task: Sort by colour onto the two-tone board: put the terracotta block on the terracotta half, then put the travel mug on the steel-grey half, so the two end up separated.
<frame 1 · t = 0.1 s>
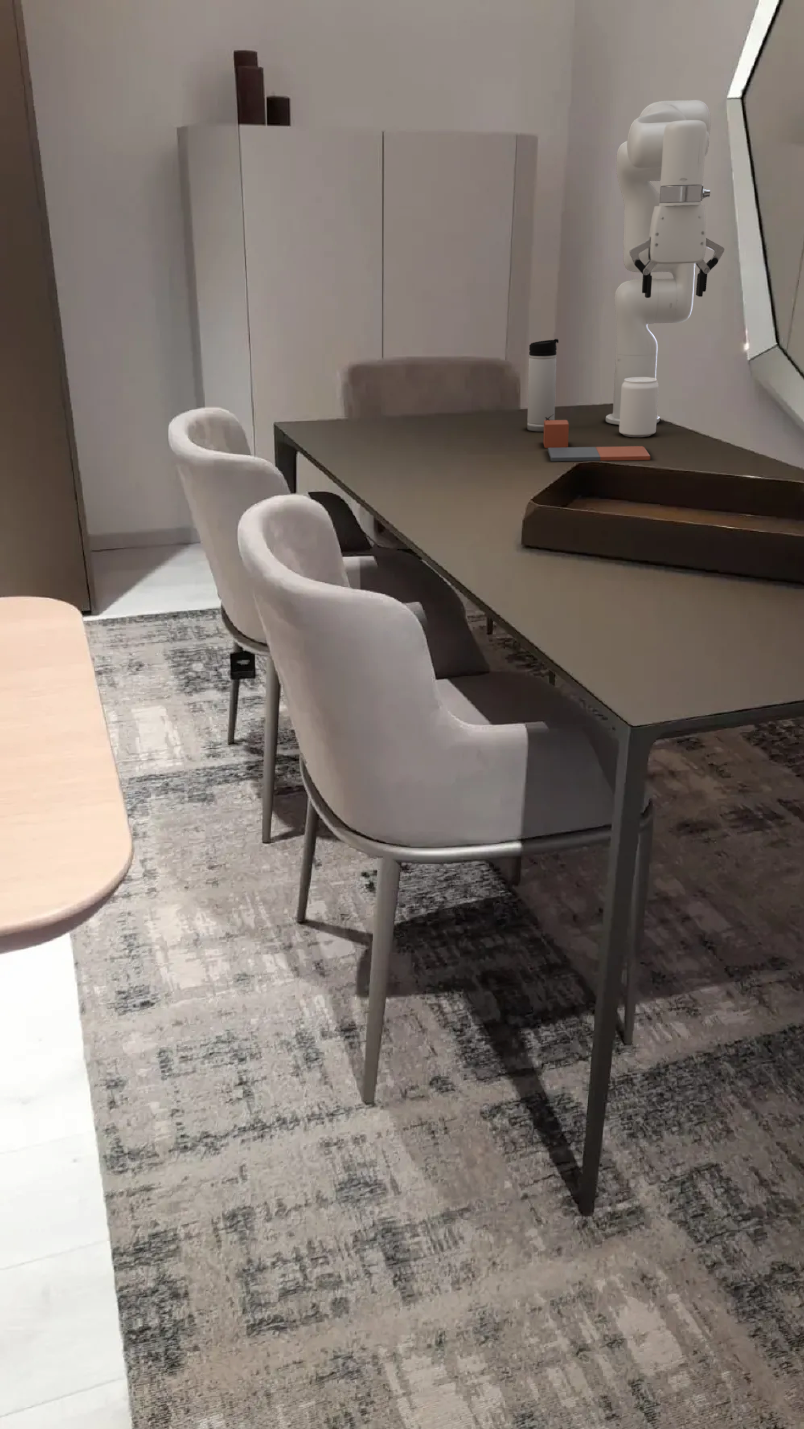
hand: (673, 296, 208), 31 cm above the table, tool pointing down, fingers open, 9 cm apart
terracotta block: (555, 445, 239), on the table
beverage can: (637, 435, 248), on the table
travel mug: (541, 430, 256), on the table
sorting board: (597, 455, 229), on the table
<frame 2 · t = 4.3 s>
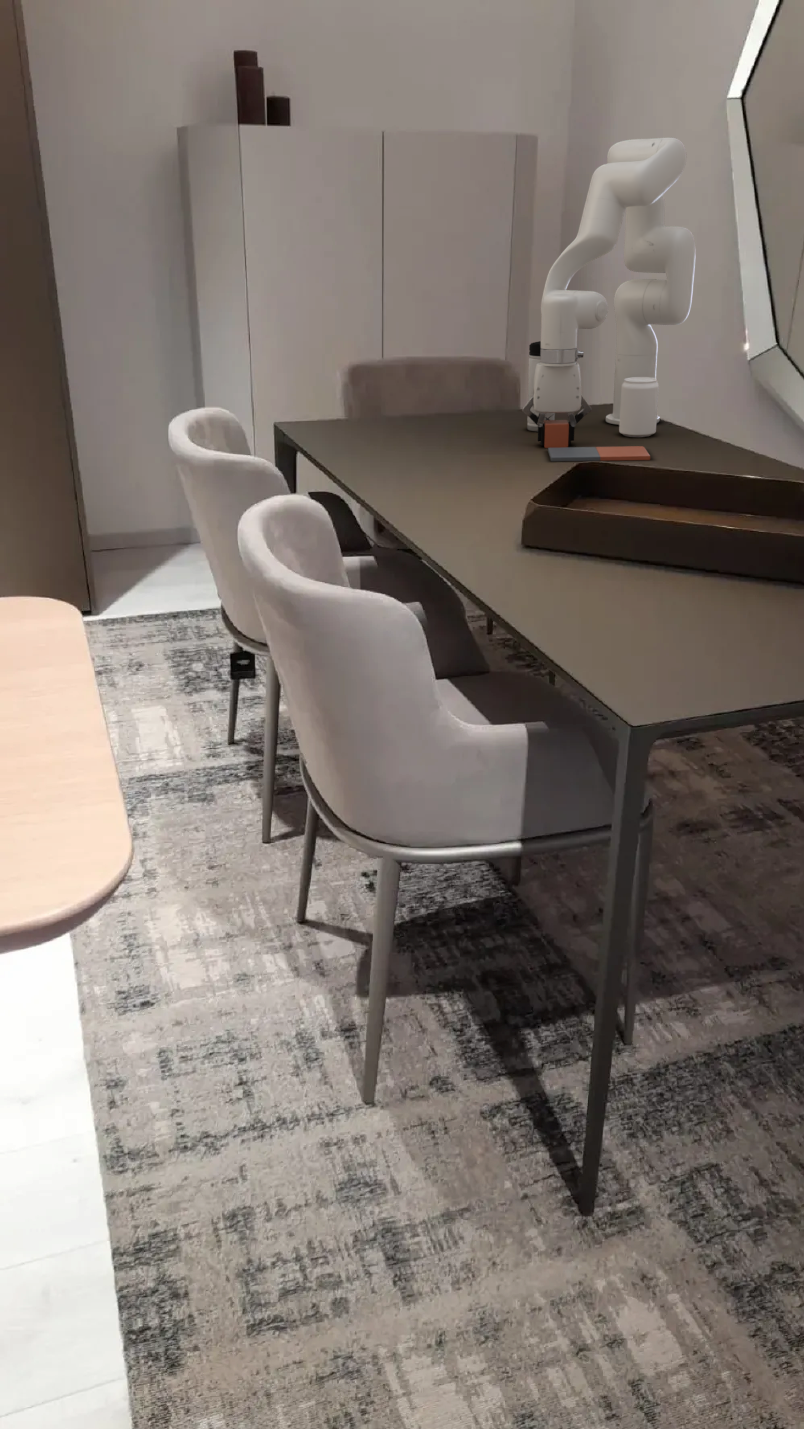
hand: (555, 443, 239), 0 cm above the table, tool pointing down, fingers closed on terracotta block, 5 cm apart
terracotta block: (555, 445, 239), on the table, touching gripper
everything else where it was.
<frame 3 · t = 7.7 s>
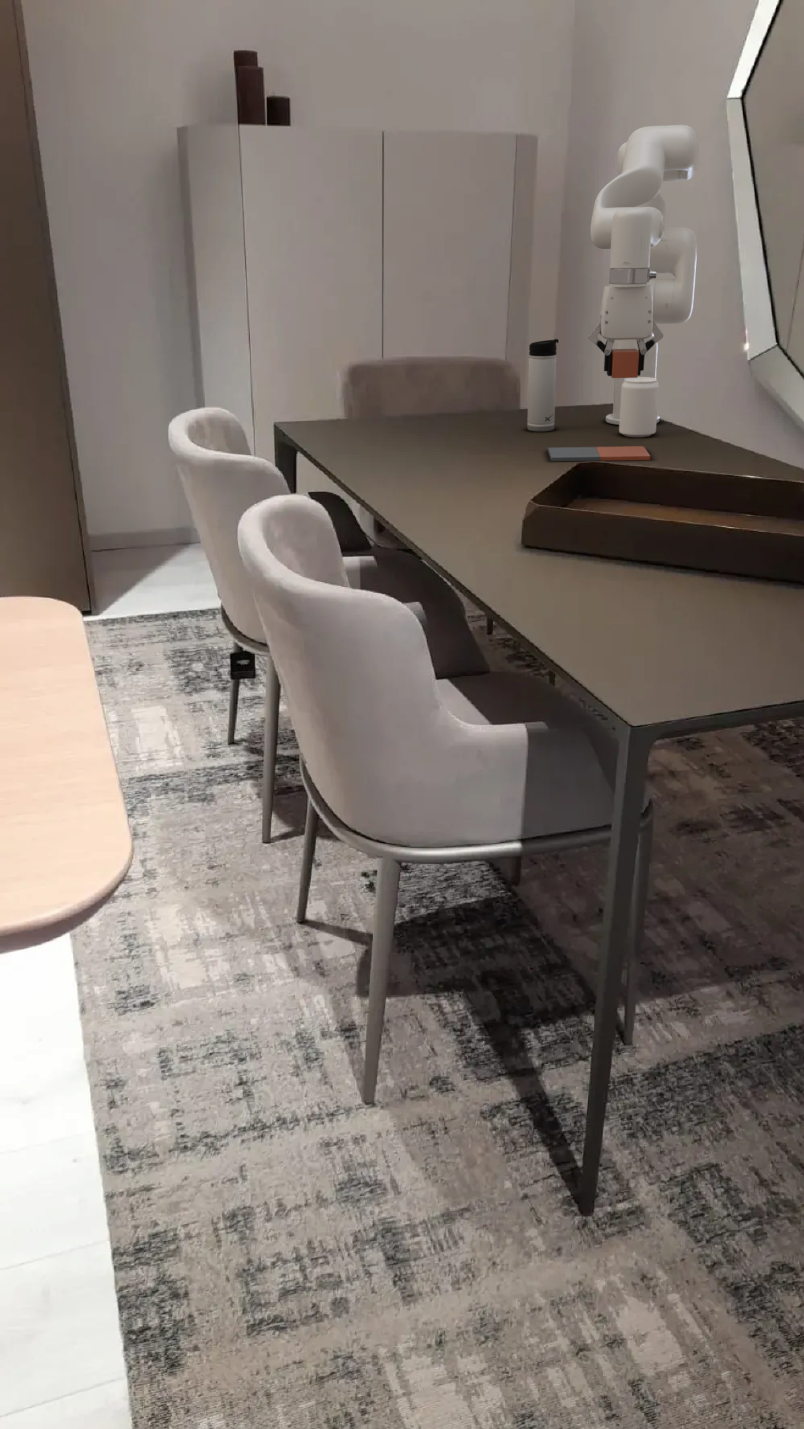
hand: (623, 374, 222), 16 cm above the table, tool pointing down, fingers closed on terracotta block, 5 cm apart
terracotta block: (623, 376, 222), point 16 cm above the table, touching gripper
everything else where it was.
when the fingers open (1 cm above the table, at t = 11.4 s): terracotta block stays where it is, resting on sorting board.
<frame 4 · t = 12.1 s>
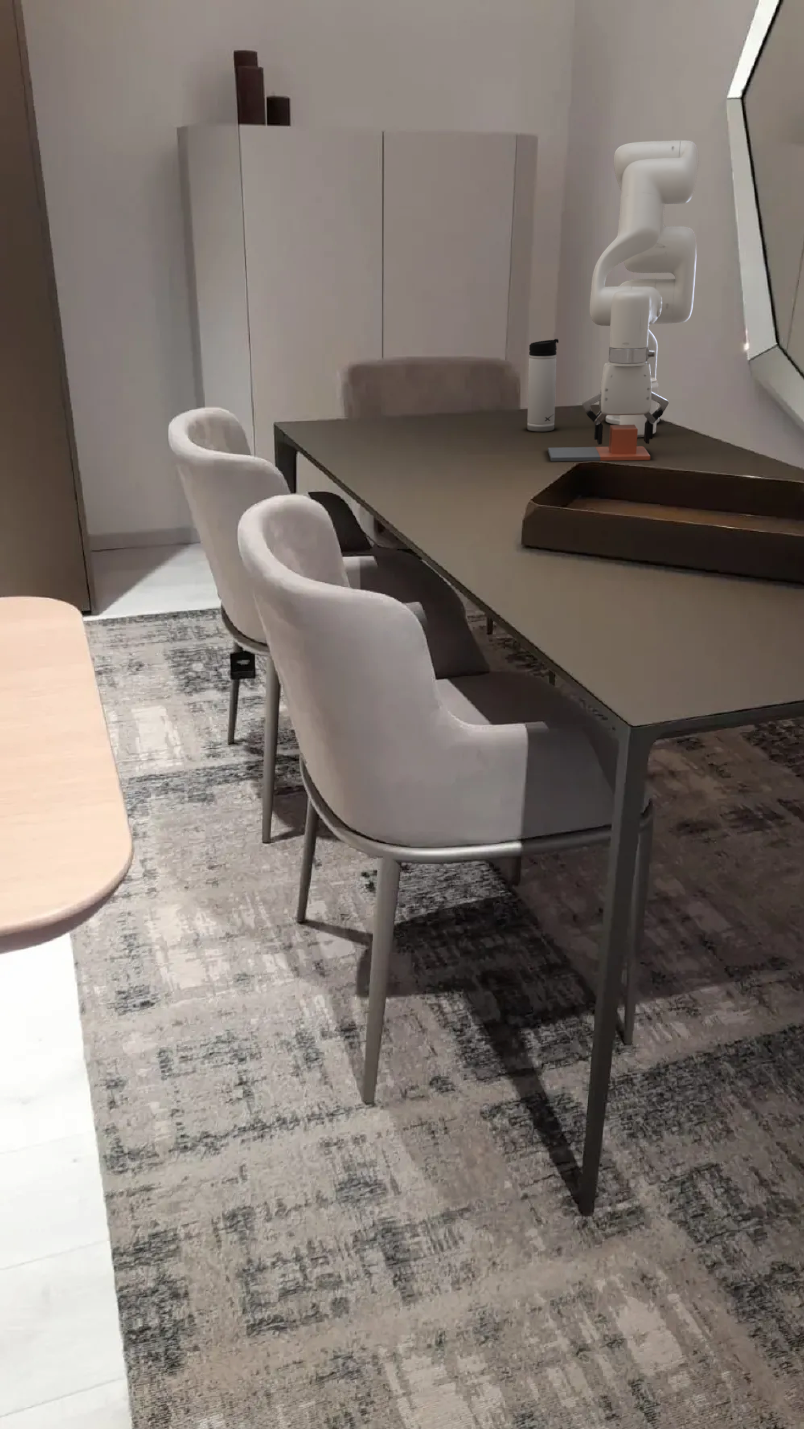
hand: (622, 442, 227), 3 cm above the table, tool pointing down, fingers open, 9 cm apart
terracotta block: (622, 451, 228), point 1 cm above the table, touching sorting board
everything else where it was.
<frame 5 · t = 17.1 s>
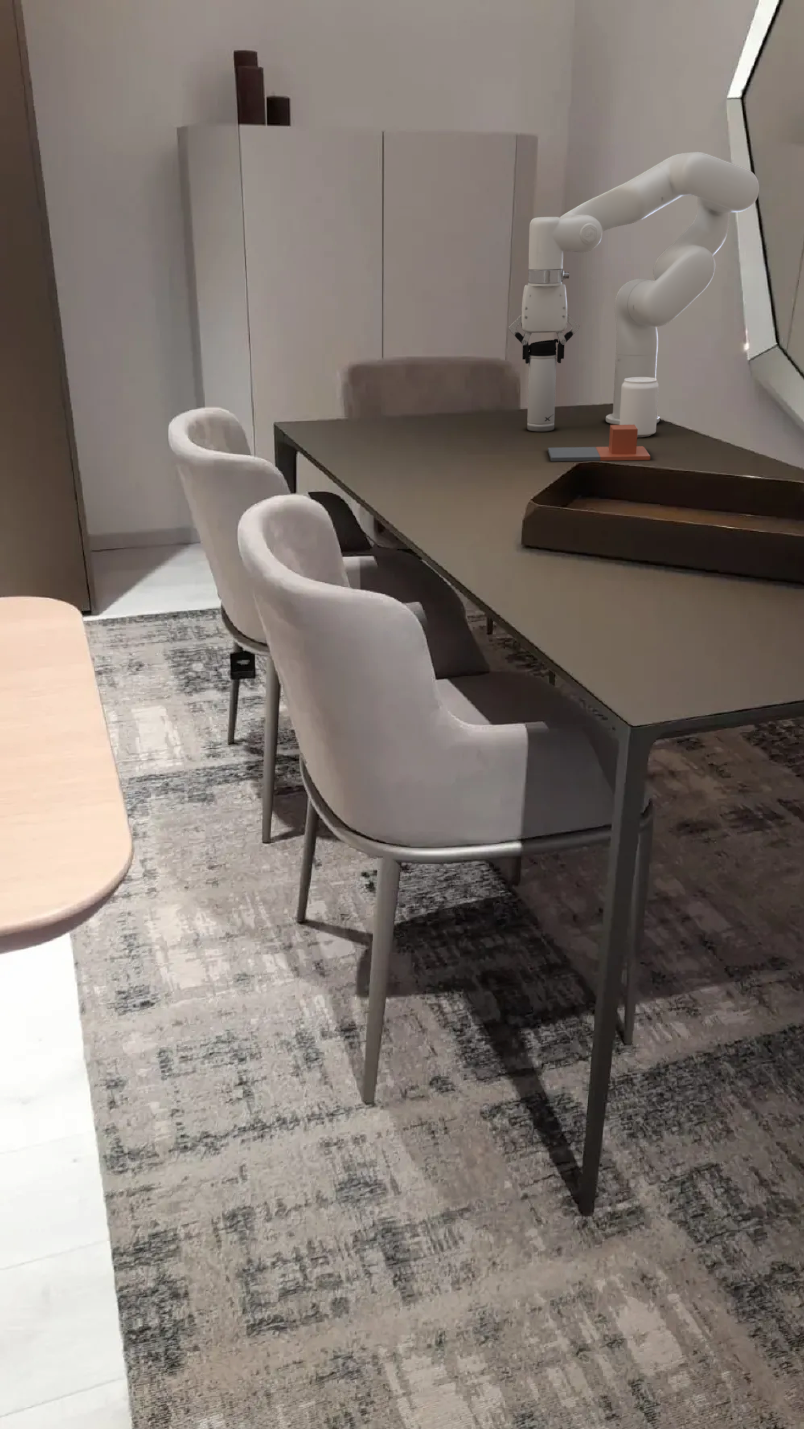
hand: (543, 362, 250), 15 cm above the table, tool pointing down, fingers closed on travel mug, 6 cm apart
travel mug: (541, 430, 256), on the table, touching gripper
everything else where it was.
when the fingers open (16 cm above the table, at t = 24.7 s): travel mug stays where it is, resting on sorting board.
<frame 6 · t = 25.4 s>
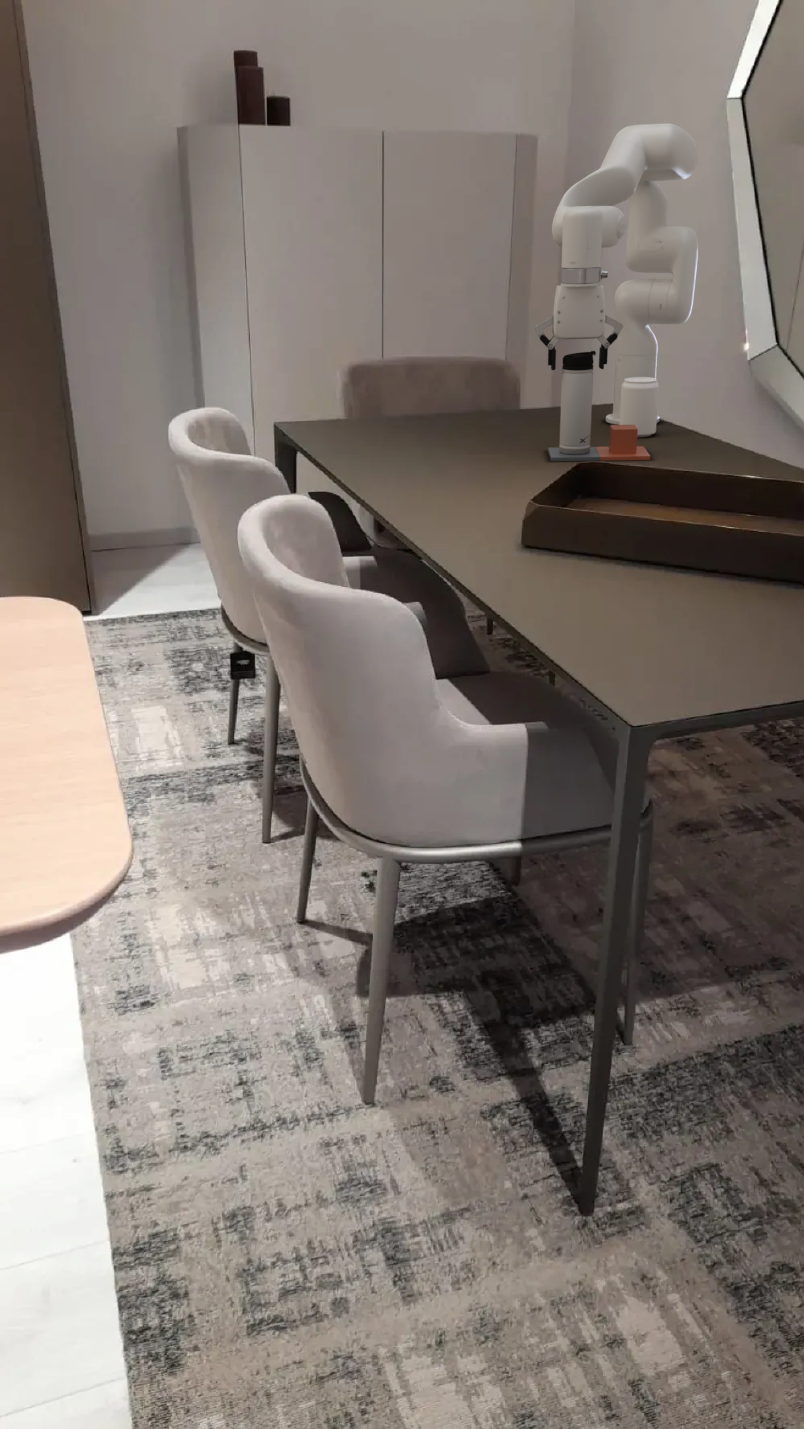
hand: (577, 368, 222), 17 cm above the table, tool pointing down, fingers open, 9 cm apart
travel mug: (575, 452, 229), point 1 cm above the table, touching sorting board
everything else where it was.
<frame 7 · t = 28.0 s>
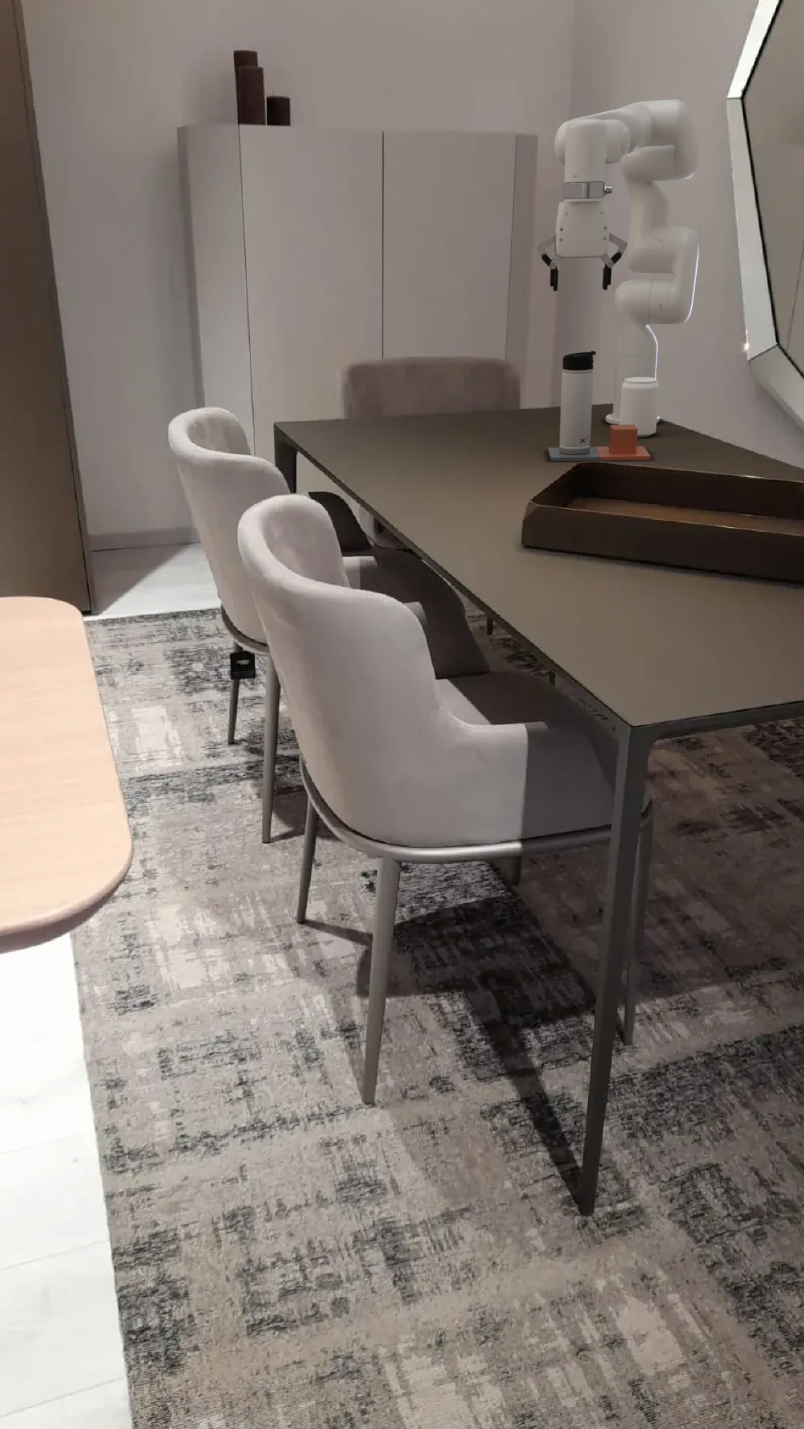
hand: (580, 290, 215), 32 cm above the table, tool pointing down, fingers open, 9 cm apart
nothing on the table moved.
at the end: terracotta block inside the target area on the sorting board (0.2 cm from its centre), point 0.8 cm above the sorting board's base; travel mug inside the target area on the sorting board (0.5 cm from its centre), point 0.6 cm above the sorting board's base; travel mug tilted 0° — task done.
